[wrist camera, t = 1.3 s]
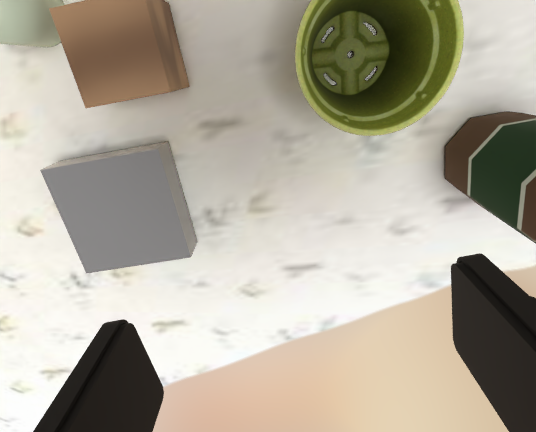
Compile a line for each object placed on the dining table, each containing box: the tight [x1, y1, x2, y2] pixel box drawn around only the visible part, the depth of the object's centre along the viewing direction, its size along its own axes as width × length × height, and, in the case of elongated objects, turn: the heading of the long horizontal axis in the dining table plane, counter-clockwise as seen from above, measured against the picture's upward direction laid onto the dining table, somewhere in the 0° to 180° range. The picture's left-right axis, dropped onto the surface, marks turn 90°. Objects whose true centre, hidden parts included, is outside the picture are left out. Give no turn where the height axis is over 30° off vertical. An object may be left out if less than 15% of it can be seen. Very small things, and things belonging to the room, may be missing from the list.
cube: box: [49, 0, 190, 108], centre depth 25 cm, size 6×6×6 cm
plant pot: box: [295, 0, 464, 136], centre depth 24 cm, size 9×9×9 cm
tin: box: [0, 0, 64, 47], centre depth 24 cm, size 4×4×6 cm
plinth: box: [41, 141, 197, 273], centre depth 32 cm, size 10×10×3 cm
